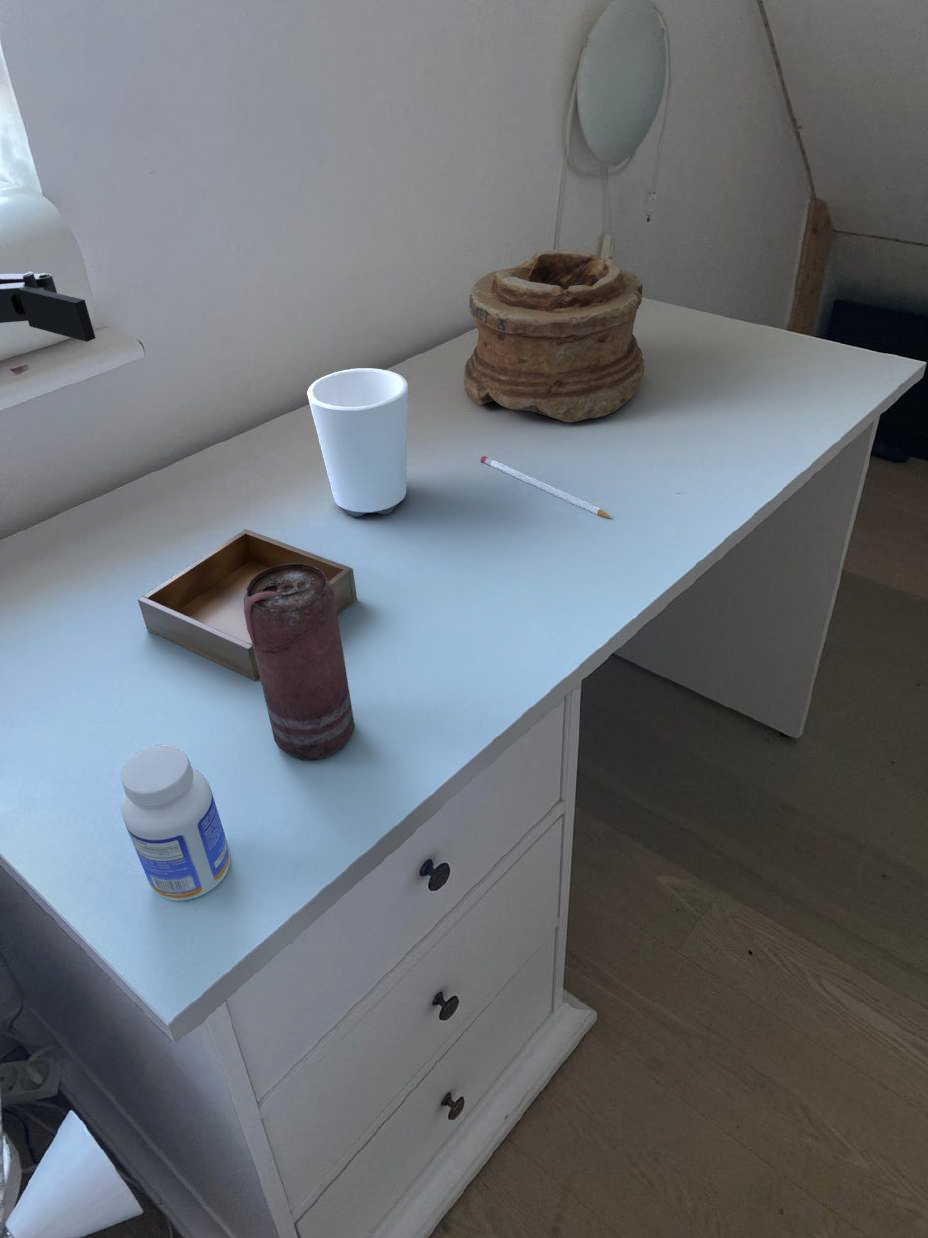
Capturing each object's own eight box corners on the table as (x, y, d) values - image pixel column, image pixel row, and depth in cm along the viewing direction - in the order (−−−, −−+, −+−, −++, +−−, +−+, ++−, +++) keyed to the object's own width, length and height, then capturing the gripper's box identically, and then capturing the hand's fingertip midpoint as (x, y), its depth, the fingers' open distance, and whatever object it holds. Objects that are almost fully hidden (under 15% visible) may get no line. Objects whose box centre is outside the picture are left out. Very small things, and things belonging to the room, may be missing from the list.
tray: (255, 681, 77) (248, 649, 75) (146, 630, 83) (137, 599, 81) (357, 599, 86) (353, 568, 84) (252, 558, 92) (245, 528, 90)
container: (426, 397, 120) (418, 277, 110) (539, 339, 133) (539, 228, 124) (572, 446, 107) (576, 315, 98) (679, 376, 121) (691, 256, 112)
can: (256, 739, 72) (219, 589, 63) (320, 696, 75) (294, 549, 67) (306, 778, 68) (274, 625, 60) (371, 731, 72) (350, 581, 63)
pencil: (485, 460, 106) (485, 454, 106) (615, 519, 95) (615, 514, 94) (480, 463, 106) (480, 457, 105) (610, 523, 94) (610, 517, 94)
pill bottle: (203, 824, 65) (171, 721, 59) (248, 868, 62) (218, 764, 56) (133, 870, 62) (91, 768, 57) (175, 919, 59) (136, 816, 53)
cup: (325, 482, 103) (308, 371, 96) (415, 474, 104) (405, 363, 96) (322, 530, 95) (304, 413, 88) (419, 521, 96) (410, 404, 88)
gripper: (-7, 302, 81) (161, 345, 71) (-325, 413, 65) (-165, 489, 55) (-39, 210, 77) (136, 242, 67) (-390, 305, 60) (-228, 367, 51)
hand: (0, 354), depth 61 cm, fingers open, 13 cm apart
